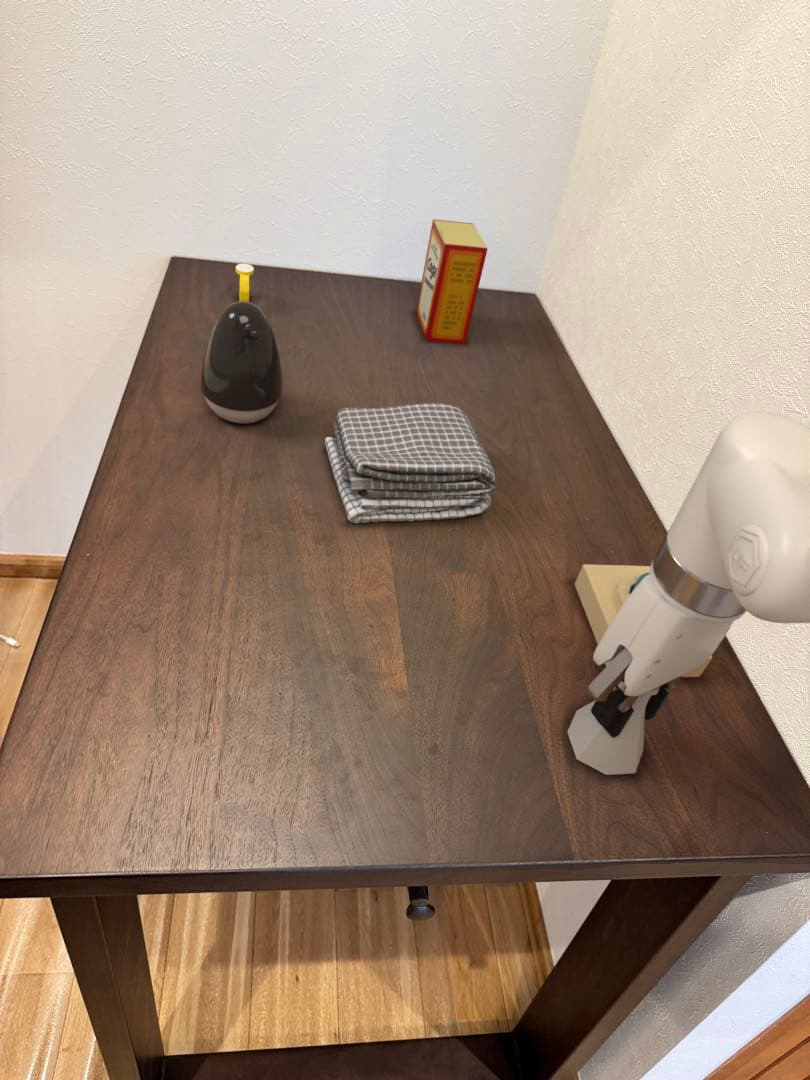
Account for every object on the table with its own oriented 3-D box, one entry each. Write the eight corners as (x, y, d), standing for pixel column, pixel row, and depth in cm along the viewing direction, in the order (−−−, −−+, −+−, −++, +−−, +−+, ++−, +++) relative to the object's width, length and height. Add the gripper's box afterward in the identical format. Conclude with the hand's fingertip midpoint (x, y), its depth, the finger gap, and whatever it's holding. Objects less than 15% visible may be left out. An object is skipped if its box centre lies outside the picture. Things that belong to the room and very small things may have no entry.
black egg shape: (212, 440, 97) (212, 328, 87) (192, 394, 104) (190, 285, 93) (291, 430, 101) (299, 323, 91) (267, 387, 108) (273, 282, 98)
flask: (565, 767, 70) (602, 701, 64) (566, 702, 76) (600, 636, 69) (644, 785, 70) (689, 722, 64) (639, 720, 76) (680, 654, 69)
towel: (491, 520, 94) (507, 469, 89) (341, 525, 89) (349, 471, 84) (457, 445, 105) (469, 395, 100) (321, 445, 100) (327, 393, 95)
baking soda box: (415, 312, 132) (433, 216, 121) (453, 315, 133) (473, 221, 122) (426, 341, 125) (445, 242, 114) (465, 343, 126) (488, 246, 116)
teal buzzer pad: (699, 677, 81) (720, 646, 78) (610, 677, 79) (627, 645, 76) (655, 586, 90) (672, 555, 87) (574, 584, 88) (588, 552, 85)
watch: (234, 293, 126) (235, 257, 122) (252, 295, 127) (253, 259, 123) (234, 311, 122) (235, 274, 118) (253, 312, 122) (254, 276, 118)
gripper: (740, 514, 64) (655, 655, 76) (591, 567, 56) (524, 716, 68) (814, 575, 60) (712, 715, 72) (665, 642, 52) (579, 786, 64)
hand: (621, 714), depth 70 cm, fingers closed on flask, 3 cm apart
